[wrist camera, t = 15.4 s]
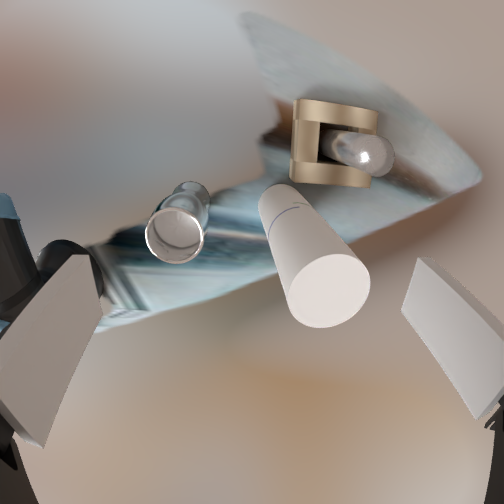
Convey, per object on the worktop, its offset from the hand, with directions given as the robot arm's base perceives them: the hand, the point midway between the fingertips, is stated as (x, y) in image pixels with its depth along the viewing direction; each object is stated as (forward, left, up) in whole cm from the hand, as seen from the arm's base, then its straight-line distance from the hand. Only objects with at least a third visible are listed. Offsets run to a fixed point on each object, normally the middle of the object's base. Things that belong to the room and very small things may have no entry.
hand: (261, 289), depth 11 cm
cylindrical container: (+7, -7, -35) cm, 36 cm away
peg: (+14, +4, -35) cm, 38 cm away
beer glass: (-7, -6, -35) cm, 36 cm away
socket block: (+14, +4, -35) cm, 38 cm away
